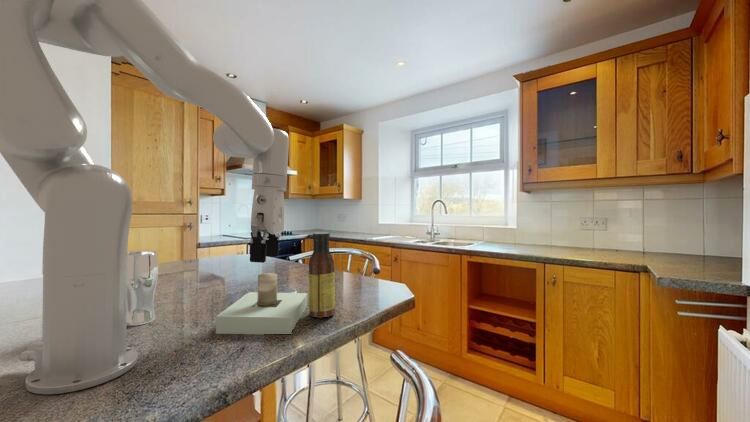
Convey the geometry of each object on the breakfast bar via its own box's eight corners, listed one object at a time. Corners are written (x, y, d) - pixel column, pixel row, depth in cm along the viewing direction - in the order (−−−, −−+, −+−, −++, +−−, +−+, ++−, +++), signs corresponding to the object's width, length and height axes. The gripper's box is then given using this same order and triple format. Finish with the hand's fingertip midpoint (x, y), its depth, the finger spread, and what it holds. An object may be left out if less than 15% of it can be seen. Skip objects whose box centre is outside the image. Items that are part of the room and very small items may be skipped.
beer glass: (111, 323, 68) (112, 253, 68) (146, 313, 74) (147, 249, 74) (128, 329, 65) (129, 256, 65) (164, 319, 71) (165, 252, 71)
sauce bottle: (337, 311, 79) (339, 232, 79) (331, 320, 73) (333, 234, 73) (311, 310, 80) (313, 231, 80) (303, 318, 74) (305, 233, 73)
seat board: (215, 333, 64) (215, 316, 64) (248, 305, 82) (248, 292, 82) (290, 334, 64) (290, 317, 64) (307, 306, 82) (307, 293, 82)
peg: (273, 322, 71) (274, 277, 71) (253, 321, 71) (254, 277, 71) (279, 315, 75) (280, 273, 75) (260, 315, 75) (261, 273, 75)
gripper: (275, 180, 64) (270, 265, 64) (294, 188, 81) (290, 255, 81) (237, 178, 64) (232, 263, 64) (264, 186, 81) (260, 253, 81)
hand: (264, 258), depth 72 cm, fingers open, 9 cm apart
